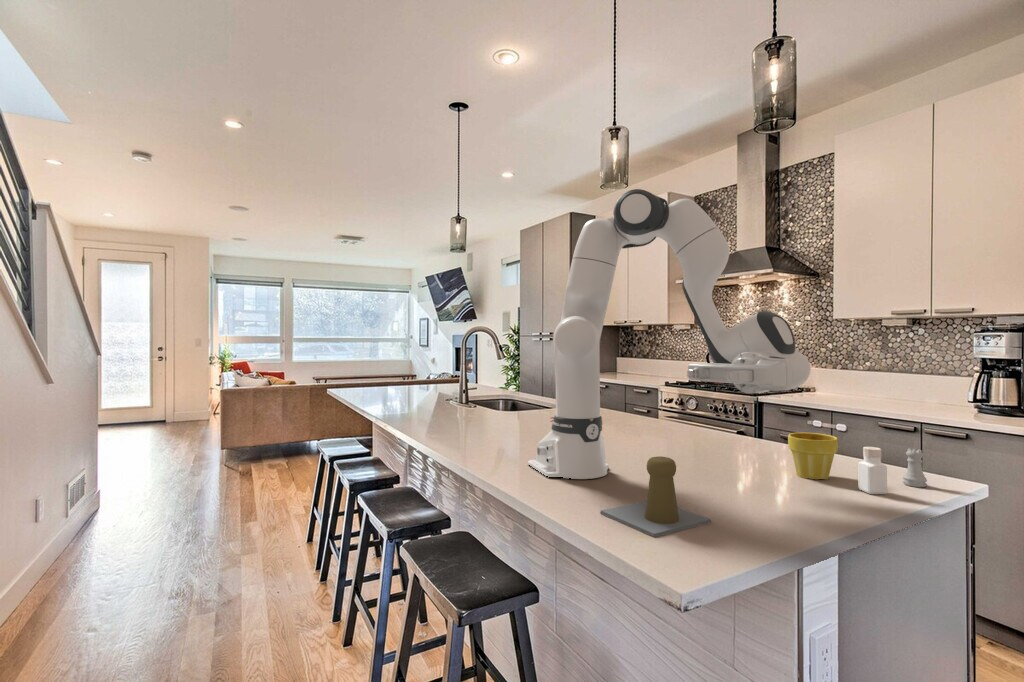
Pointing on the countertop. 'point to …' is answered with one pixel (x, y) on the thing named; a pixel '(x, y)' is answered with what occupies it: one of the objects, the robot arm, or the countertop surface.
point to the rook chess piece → (914, 469)
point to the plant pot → (812, 453)
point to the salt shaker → (872, 472)
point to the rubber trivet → (636, 519)
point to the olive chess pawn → (661, 491)
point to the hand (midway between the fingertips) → (708, 374)
